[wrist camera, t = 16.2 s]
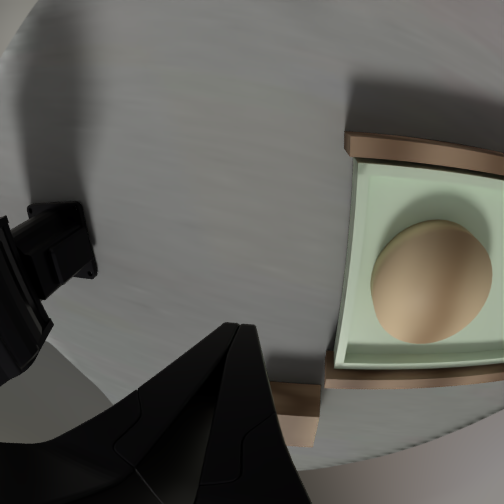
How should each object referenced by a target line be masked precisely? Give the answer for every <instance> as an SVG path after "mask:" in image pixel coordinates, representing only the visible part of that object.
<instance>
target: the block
mask: <svg viewBox="0 0 504 504" xmlns="http://www.w3.org/2000/svg"><path fill="white" fill-rule="evenodd" d="M269 383H270V387H271V391H272V395H273V399H274V403H275V407H276V411H277V415H278V419H279V423H280V427H281V430H282V434H283V437H284V440H285V444H286V446H298V447H313V443H314V439H315V435H316V430H317V426H318V421H319V414H320V393H321V385H313V384H297V383H284V382H272V381H269Z"/></svg>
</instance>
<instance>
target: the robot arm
mask: <svg viewBox="0 0 504 504" xmlns="http://www.w3.org/2000/svg"><path fill="white" fill-rule="evenodd" d="M75 207H76V208H77V210H76V208H75ZM27 212H28V217H29V219H28V220H27V221H25V222H23V223H22V224H20V225H18V226H16V227H15V228H13V229H11V230H10V228H9V225H8V223H9V221H8V219H7V216H6V215H5V216H3V217H0V386H1V385H3V384H4V383H6V382H7V381H8V380H10V379H12V378H14V377H16V376H18V375H20V374H21V373H23V372H25V371H26V370H27V369H28V368H29V367H30V366H31V365H32V363H33V362H34V361H35V359H36V357H37V355H38V353H39V351H40V349H41V347H42V345H43V344H44V342H45V340H46V338H47V336H48V335H49V333H50V331H51V329H52V327H53V326H54V324H53V322H52V320H51V318H49V317H48V315H47V313H46V311H45V309H44V307H43V305H42V303H41V301H42V300H46V299H47V298H48V297H49V296H50V295H51V294H52V293H53V292H55V291H56V290H57V289H58V288H59V287H60V286H61V285H64V284H65V283H66V282H67V281H69V280H70V279H71V278H72V277H79V278H86V279H94V278H95V277H96V276H97V270H96V266H95V262H94V258H93V254H92V250H91V246H90V241H89V237H88V233H87V228H86V223H85V219H84V214H83V209H82V205H81V204H80V202H78V201H69V202H51V203H35V204H31V205H29V206H28V207H27ZM91 272H92V273H91ZM0 504H312V502H311V500H310V498H309V496H308V494H307V492H306V489H305V487H304V485H303V483H302V481H301V479H300V476H299V474H298V472H297V470H296V468H295V466H294V463H293V461H292V459H291V456H290V454H289V451H288V449H287V446H286V444H285V440H284V437H283V434H282V430H281V427H280V423H279V419H278V415H277V411H276V407H275V403H274V399H273V395H272V391H271V387H270V383H269V379H268V375H267V370H266V366H265V362H264V358H263V354H262V350H261V345H260V341H259V337H258V333H257V329H256V326H255V325H252V324H241V325H240V324H238V323H230V322H225V323H223V324H222V325H221V326H219V327H218V328H217V329H216V330H214V331H213V332H212V333H210V334H209V335H208V336H206V337H205V338H204V339H203V340H201V341H200V342H199V343H197V344H196V345H195V346H194V347H192V348H191V349H190V350H188V351H187V352H186V353H184V354H183V355H182V356H180V357H179V358H178V359H176V360H175V361H174V362H172V363H171V364H170V365H168V366H167V367H166V368H164V369H163V370H162V371H160V372H159V373H158V374H156V375H155V376H154V377H152V378H151V379H150V380H148V381H147V382H146V383H144V384H143V385H142V386H140V387H139V388H138V390H135V391H133V392H132V393H130V394H129V395H128V396H126V397H125V398H123V399H122V400H121V401H119V402H118V403H116V404H115V405H113V406H112V407H110V408H109V409H107V410H105V411H104V412H102V413H100V414H98V415H97V416H95V417H93V418H92V419H90V420H88V421H86V422H84V423H83V424H81V425H79V426H77V427H75V428H73V429H72V430H70V431H68V432H66V433H64V434H62V435H60V436H58V437H56V438H54V439H52V440H49V441H46V442H42V443H35V444H22V443H2V442H0Z"/></svg>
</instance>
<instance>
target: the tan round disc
mask: <svg viewBox="0 0 504 504" xmlns="http://www.w3.org/2000/svg"><path fill="white" fill-rule="evenodd" d="M492 276H493V274H492V265H491V260H490V257H489V255H488V253H487V251H486V249H485V248H484V247H483V245H482V244H481V243H480V242H479V241H478V240H477V239H476V238H475V237H474V236H473V235H472V233H471V232H469V231H468V230H467V229H466V228H465V227H463V226H461V225H460V224H457V223H455V222H452V221H448V220H439V219H436V220H427V221H423V222H419V223H417V224H414V225H412V226H410V227H408V228H406V229H404V230H403V231H401V232H400V233H398V234H397V235H396V236H395V237H394V238H392V239H391V240H390V242H389V243H388V244H387V245H386V246H385V247H384V249H383V250H382V251H381V253H380V255H379V256H378V258H377V260H376V262H375V265H374V267H373V271H372V274H371V281H370V290H371V296H372V301H373V305H374V310H375V313H376V317H377V319H378V321H379V323H380V324H381V326H382V327H383V329H384V330H385V331H386V332H387V333H389V334H390V335H391V336H393V337H394V338H396V339H398V340H401V341H404V342H408V343H413V344H427V343H433V342H437V341H441V340H443V339H446V338H448V337H450V336H452V335H454V334H456V333H458V332H459V331H461V330H462V329H463V328H465V327H466V326H467V325H468V324H469V323H470V322H471V321H472V320H473V319H474V318H475V317H476V316H477V315H478V313H479V312H480V311H481V309H482V307H483V306H484V304H485V302H486V300H487V298H488V295H489V292H490V289H491V285H492Z"/></svg>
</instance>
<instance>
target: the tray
mask: <svg viewBox="0 0 504 504" xmlns="http://www.w3.org/2000/svg"><path fill="white" fill-rule="evenodd" d="M436 219H439V220H448V221H452V222H455V223H457V224H460V225H461V226H463V227H465V228H466V229H467V230H468V231H469V232H471V233H472V235H473V236H474V237H475V238H476V239H477V240H478V241H479V242H480V243H481V244H482V245H483V247H484V248H485V249H486V251H487V253H488V255H489V257H490V260H491V265H492V274H493V276H492V285H491V289H490V292H489V295H488V298H487V300H486V302H485V304H484V306H483V307H482V309H481V311H480V312H479V313H478V315H477V316H476V317H475V318H474V319H473V320H472V321H471V322H470V323H469V324H468V325H467V326H466V327H465V328H463V329H462V330H461V331H459V332H458V333H456V334H454V335H452V336H450V337H448V338H446V339H443V340H441V341H437V342H433V343H427V344H413V343H408V342H404V341H401V340H398V339H396V338H394V337H393V336H391V335H390V334H389V333H387V332H386V331H385V330H384V329H383V327H382V326H381V324H380V323H379V321H378V319H377V317H376V313H375V310H374V305H373V301H372V296H371V290H370V281H371V274H372V271H373V267H374V265H375V262H376V260H377V258H378V256H379V255H380V253H381V251H382V250H383V249H384V247H385V246H386V245H387V244H388V243H389V242H390V240H391V239H392V238H394V237H395V236H396V235H397V234H398V233H400V232H401V231H403V230H404V229H406V228H408V227H410V226H412V225H414V224H417V223H419V222H423V221H427V220H436ZM498 363H504V175H498V174H493V173H487V172H481V171H475V170H469V169H463V168H456V167H449V166H442V165H434V164H426V163H417V162H408V161H398V160H388V159H376V158H363V157H353V178H352V195H351V210H350V223H349V234H348V245H347V255H346V264H345V273H344V282H343V290H342V298H341V305H340V312H339V319H338V326H337V332H336V339H335V345H334V368H335V369H430V368H450V367H465V366H477V365H488V364H498Z"/></svg>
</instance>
